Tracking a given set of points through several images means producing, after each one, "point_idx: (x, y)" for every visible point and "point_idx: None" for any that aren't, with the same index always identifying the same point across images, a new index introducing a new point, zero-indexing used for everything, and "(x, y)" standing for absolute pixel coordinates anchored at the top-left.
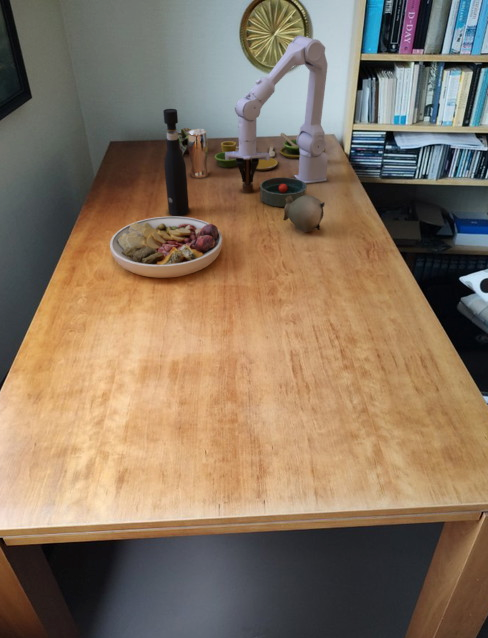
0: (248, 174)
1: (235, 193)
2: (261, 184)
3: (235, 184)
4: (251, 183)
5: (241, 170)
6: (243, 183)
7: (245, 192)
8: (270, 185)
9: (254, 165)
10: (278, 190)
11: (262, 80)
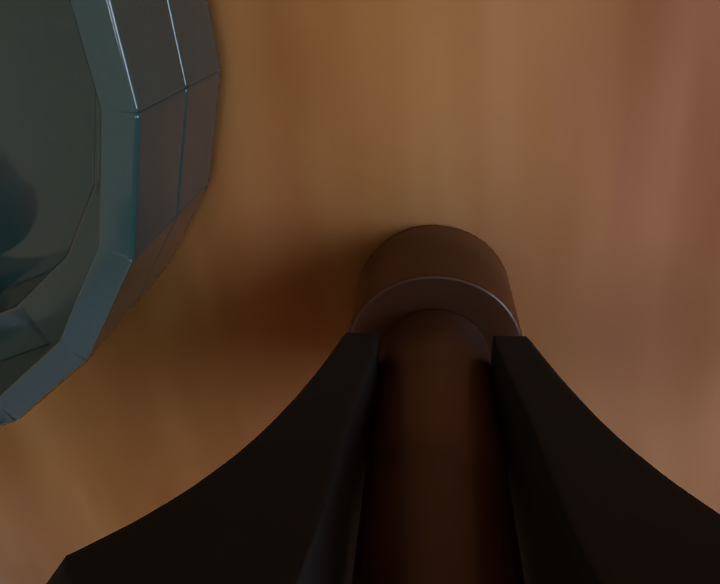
0: (415, 429)
1: (619, 210)
2: (99, 98)
3: None
4: None
5: (611, 474)
6: None
7: (464, 233)
8: (66, 302)
9: (176, 556)
10: (9, 286)
11: None
